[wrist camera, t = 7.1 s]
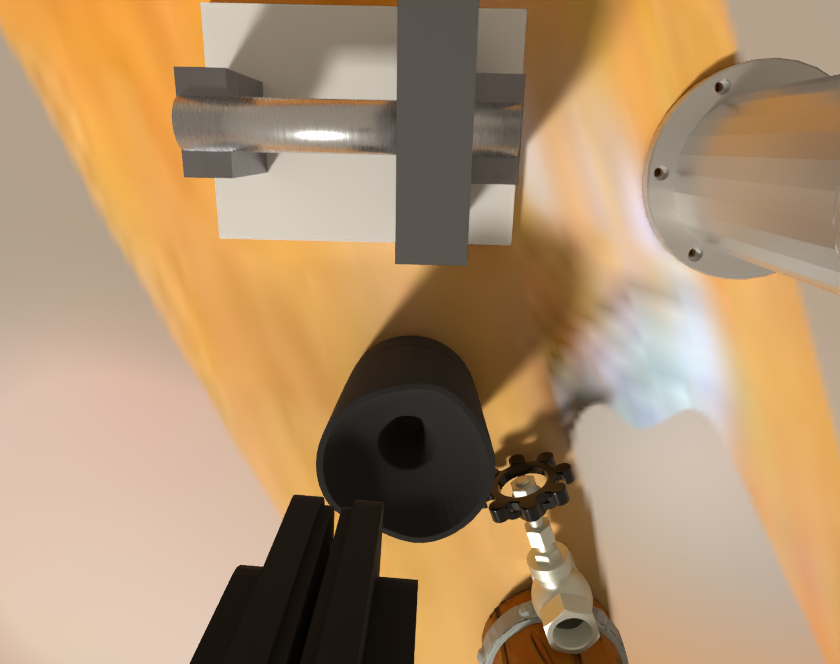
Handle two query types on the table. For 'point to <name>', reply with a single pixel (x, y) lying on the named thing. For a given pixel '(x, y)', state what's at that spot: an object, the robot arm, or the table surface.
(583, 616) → the valve
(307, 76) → the base board
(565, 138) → the table surface
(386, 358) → the pen holder
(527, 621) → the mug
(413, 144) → the collar
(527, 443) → the table surface
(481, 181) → the pipe
